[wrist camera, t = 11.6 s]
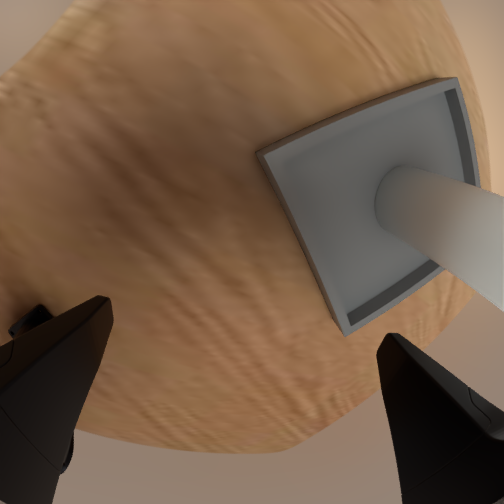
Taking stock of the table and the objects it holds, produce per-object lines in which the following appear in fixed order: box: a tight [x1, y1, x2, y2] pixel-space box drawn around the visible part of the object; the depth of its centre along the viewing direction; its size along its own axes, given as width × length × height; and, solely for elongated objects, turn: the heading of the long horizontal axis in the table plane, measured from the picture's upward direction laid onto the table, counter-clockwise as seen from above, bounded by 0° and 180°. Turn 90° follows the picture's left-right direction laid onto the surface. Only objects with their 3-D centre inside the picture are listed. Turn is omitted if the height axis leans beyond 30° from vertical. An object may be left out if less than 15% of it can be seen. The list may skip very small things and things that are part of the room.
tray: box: [255, 77, 481, 337], centre depth 20 cm, size 18×16×2 cm
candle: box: [375, 166, 504, 312], centre depth 14 cm, size 6×6×13 cm
